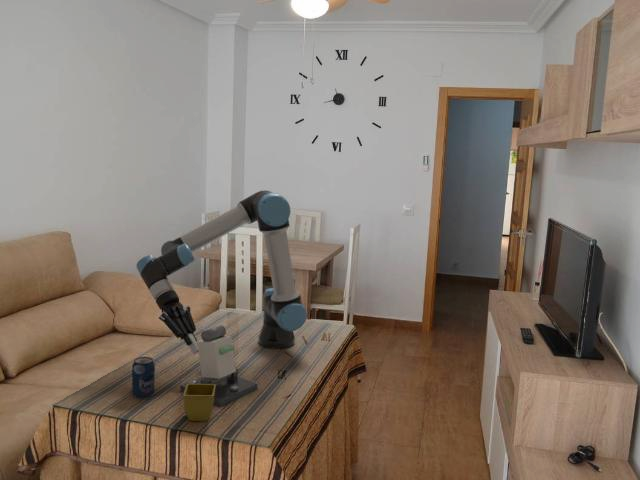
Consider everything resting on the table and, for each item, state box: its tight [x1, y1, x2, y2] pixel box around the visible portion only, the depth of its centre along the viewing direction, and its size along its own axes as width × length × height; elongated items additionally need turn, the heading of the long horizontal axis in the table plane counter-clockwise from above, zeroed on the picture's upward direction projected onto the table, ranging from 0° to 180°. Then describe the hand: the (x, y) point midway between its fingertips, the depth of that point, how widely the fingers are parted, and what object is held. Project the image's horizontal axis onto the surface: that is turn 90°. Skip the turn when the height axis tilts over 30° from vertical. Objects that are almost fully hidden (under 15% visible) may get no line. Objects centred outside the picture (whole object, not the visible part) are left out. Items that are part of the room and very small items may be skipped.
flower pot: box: [182, 384, 216, 422], centre depth 179 cm, size 9×9×9 cm
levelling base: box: [179, 368, 259, 408], centre depth 200 cm, size 18×18×6 cm
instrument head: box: [197, 325, 237, 384], centre depth 199 cm, size 10×10×18 cm
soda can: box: [131, 356, 156, 400], centre depth 192 cm, size 7×7×12 cm
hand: (197, 351), depth 204 cm, fingers closed
